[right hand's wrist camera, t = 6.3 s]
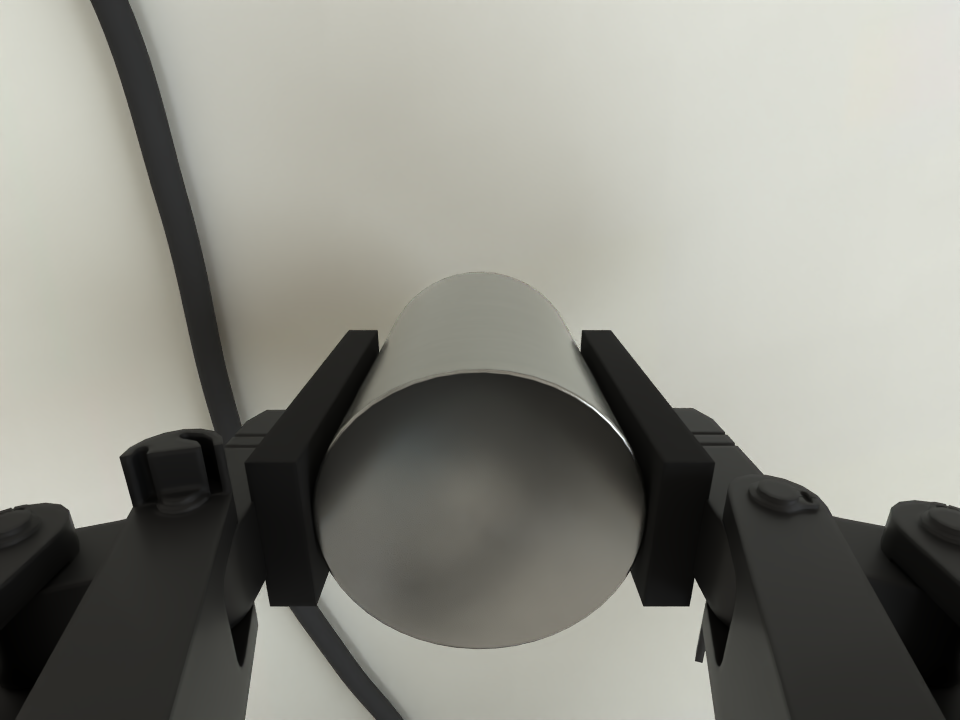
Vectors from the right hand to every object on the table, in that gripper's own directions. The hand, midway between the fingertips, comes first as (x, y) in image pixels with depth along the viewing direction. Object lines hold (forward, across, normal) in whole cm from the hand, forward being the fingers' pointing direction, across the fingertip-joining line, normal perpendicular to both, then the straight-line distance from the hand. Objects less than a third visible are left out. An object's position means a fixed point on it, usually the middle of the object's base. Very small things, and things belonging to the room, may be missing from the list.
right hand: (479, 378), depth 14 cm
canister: (+1, 0, 0) cm, 1 cm away
